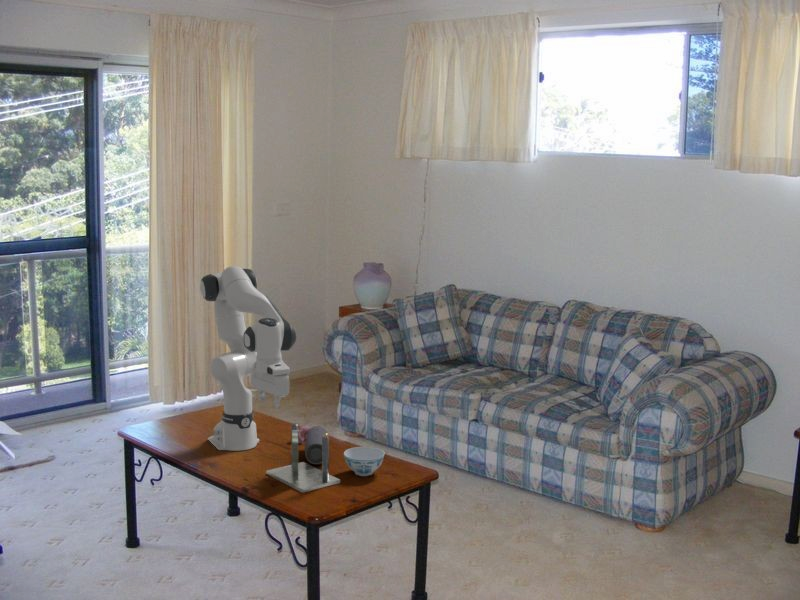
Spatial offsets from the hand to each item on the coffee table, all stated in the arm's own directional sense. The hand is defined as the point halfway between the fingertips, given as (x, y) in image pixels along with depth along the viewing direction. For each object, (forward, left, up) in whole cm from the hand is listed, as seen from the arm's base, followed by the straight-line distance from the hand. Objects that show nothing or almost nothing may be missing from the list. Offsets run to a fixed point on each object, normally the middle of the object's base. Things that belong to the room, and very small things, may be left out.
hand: (269, 404), depth 302 cm
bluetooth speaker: (-15, +30, -30) cm, 45 cm away
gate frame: (+1, +13, -30) cm, 32 cm away
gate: (-1, +11, -27) cm, 30 cm away
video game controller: (-36, +38, -30) cm, 60 cm away
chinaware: (+10, +34, -30) cm, 46 cm away
